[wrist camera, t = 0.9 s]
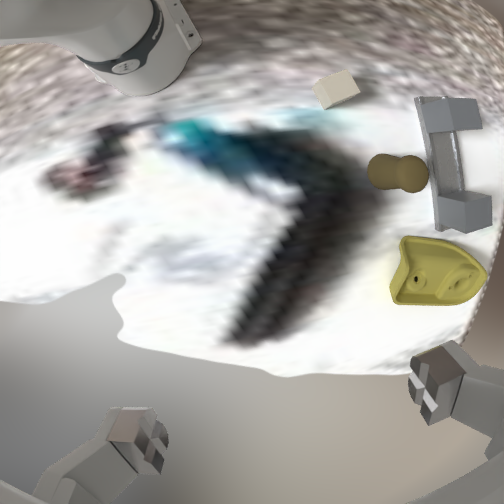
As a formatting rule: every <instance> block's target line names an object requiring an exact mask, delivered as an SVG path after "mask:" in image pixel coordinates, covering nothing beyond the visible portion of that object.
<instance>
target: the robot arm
mask: <svg viewBox="0 0 504 504" xmlns="http://www.w3.org/2000/svg"><path fill="white" fill-rule="evenodd" d="M190 35H193V36H192V37H189V36H190ZM23 43H47V44H52V45H56V46H58V47H61V48H63V49H65V50H68V51H70V52H72V53H74V54H76V55H77V57H78V58H79V59H80V60H81V61H82V62H83V63H85V66H86V67H87V68H88V69H89V70H91V71H92V72H93V73H95V79H96V80H97V81H98V82H99V83H102V84H108V85H111V86H113V87H114V88H115V89H117V90H118V91H119V92H121V93H123V94H125V95H129V96H146V95H150V94H153V93H156V92H158V91H160V90H162V89H163V88H165V87H166V86H168V85H169V84H171V83H172V82H173V81H174V80H175V79H176V78H177V77H178V76H179V74H180V73H181V71H182V70H183V68H184V66H185V64H186V62H187V60H188V58H189V56H190V55H191V54H192V53H193V52H194V51H195V50H196V49H197V48H198V47H199V46H200V45H201V43H202V39H201V37H200V35H199V33H198V31H197V29H196V28H195V26H194V24H193V22H192V21H191V19H190V17H189V15H188V14H187V12H186V10H185V8H184V7H183V5H182V3H181V2H180V0H0V47H2V46H8V45H14V44H23ZM410 367H411V369H412V370H413V371H412V373H411V374H410V376H409V380H408V387H409V393H410V395H411V398H412V399H413V401H414V403H416V404H418V405H421V410H420V413H421V415H422V416H423V418H424V419H425V421H426V423H427V425H428V426H429V425H432V424H434V423H436V422H439V421H441V420H443V419H445V418H448V417H450V416H451V417H452V418H453V419H455V420H457V421H459V422H461V423H463V424H465V425H467V426H469V427H471V428H473V429H475V430H477V431H479V432H481V433H483V434H485V435H487V436H489V437H491V438H492V440H491V441H490V443H489V445H488V447H487V448H486V450H485V453H484V454H485V455H486V457H487V459H488V461H487V462H485V463H484V464H482V465H481V466H479V467H477V468H476V469H474V470H472V471H471V472H469V473H467V474H466V475H464V476H462V477H460V478H459V479H457V480H455V481H453V482H451V483H449V484H447V485H445V486H443V487H441V488H439V489H437V490H435V491H433V492H431V493H429V494H427V495H425V496H422V497H421V498H418V499H415V500H413V501H411V502H408V503H406V504H504V370H502V369H498V368H494V367H490V366H487V365H482V366H479V365H478V364H477V363H476V362H475V361H474V360H473V359H472V358H471V357H470V356H469V355H468V354H467V353H466V352H465V351H464V350H463V349H462V348H461V347H460V346H459V345H458V344H457V343H456V342H455V341H453V340H450V341H448V342H446V343H444V344H441V345H439V346H437V347H434V348H432V349H430V350H427V351H425V352H422V353H420V354H417V355H415V356H412V358H411V362H410ZM156 419H157V414H156V412H155V411H154V409H153V408H149V407H142V408H141V407H111V408H110V409H109V410H108V412H107V414H106V416H105V418H104V420H103V422H102V424H101V426H100V427H99V429H98V431H97V433H96V435H95V437H94V439H93V440H88V441H87V442H85V443H84V444H82V445H81V446H80V447H78V448H77V449H75V450H74V451H72V452H71V453H69V454H68V455H66V456H65V457H64V458H62V459H61V460H59V461H58V462H56V463H55V464H53V465H52V466H50V467H48V468H47V469H45V470H44V472H43V474H42V476H41V478H40V480H39V482H38V484H37V486H36V487H35V489H34V491H33V493H32V495H29V494H27V493H25V492H23V491H21V490H19V489H17V488H15V487H13V486H11V485H9V484H7V483H5V482H3V481H2V480H0V504H111V503H112V501H113V500H114V499H115V498H116V497H117V496H118V495H119V494H120V493H121V492H122V491H123V490H124V489H125V488H126V487H127V486H128V485H129V484H130V483H131V482H132V481H133V480H134V479H135V478H136V477H137V476H138V474H156V475H160V474H161V471H162V467H163V463H164V458H163V456H162V453H164V452H165V451H166V450H167V447H168V443H169V441H168V433H167V430H166V428H165V426H164V425H163V424H162V423H160V422H159V421H157V420H156ZM137 473H138V474H137Z"/></svg>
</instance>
